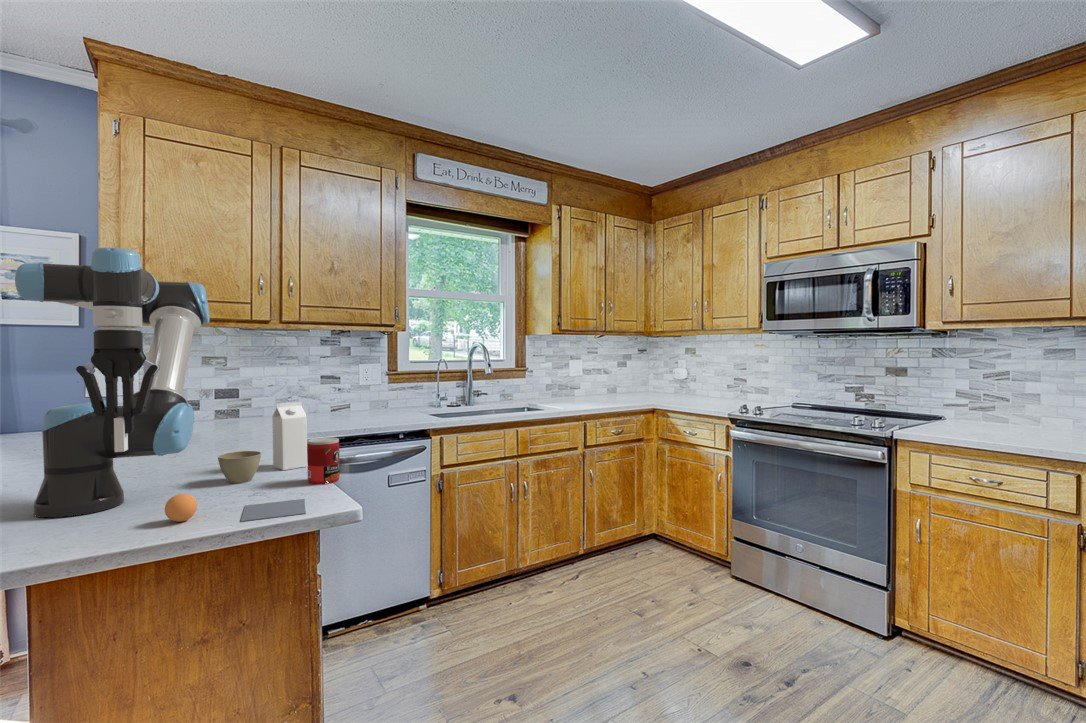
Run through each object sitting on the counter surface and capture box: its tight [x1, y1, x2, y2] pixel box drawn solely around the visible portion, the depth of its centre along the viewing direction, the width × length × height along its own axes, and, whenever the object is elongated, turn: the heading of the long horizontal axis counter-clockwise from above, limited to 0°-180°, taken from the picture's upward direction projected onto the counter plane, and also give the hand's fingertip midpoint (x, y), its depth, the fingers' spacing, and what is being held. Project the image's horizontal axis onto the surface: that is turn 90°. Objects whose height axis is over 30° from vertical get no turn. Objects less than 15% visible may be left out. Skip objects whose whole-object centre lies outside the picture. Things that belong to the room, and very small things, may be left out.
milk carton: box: [271, 401, 308, 471], centre depth 160 cm, size 7×7×19 cm
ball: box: [164, 493, 198, 523], centre depth 110 cm, size 6×6×6 cm
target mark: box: [240, 498, 307, 523], centre depth 117 cm, size 12×12×1 cm
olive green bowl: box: [217, 450, 262, 484], centre depth 143 cm, size 10×10×7 cm
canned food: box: [307, 436, 341, 485], centre depth 143 cm, size 8×8×11 cm
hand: (121, 450), depth 106 cm, fingers closed
